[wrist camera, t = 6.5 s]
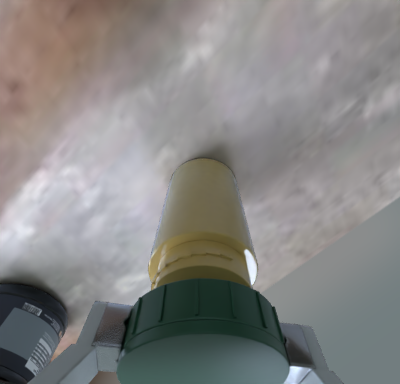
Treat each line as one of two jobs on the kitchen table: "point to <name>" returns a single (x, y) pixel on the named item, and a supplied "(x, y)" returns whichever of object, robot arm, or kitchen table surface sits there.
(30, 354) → the supplement container
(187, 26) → the kitchen table surface
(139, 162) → the kitchen table surface
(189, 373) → the jar lid
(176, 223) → the jam jar
